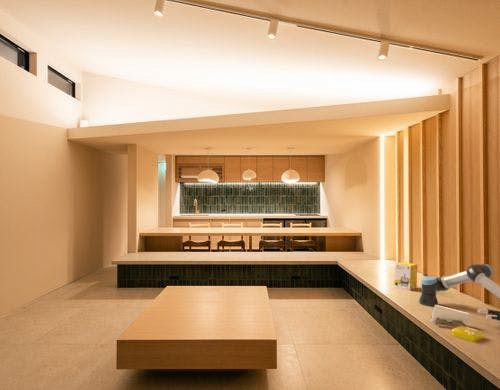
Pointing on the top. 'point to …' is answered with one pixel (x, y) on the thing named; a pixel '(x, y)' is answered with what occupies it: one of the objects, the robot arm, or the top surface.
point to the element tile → (468, 333)
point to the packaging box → (405, 276)
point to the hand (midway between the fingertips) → (482, 313)
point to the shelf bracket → (449, 314)
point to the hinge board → (448, 323)
